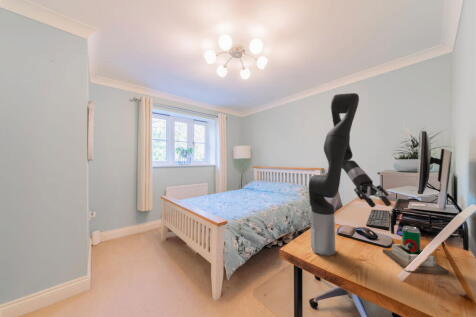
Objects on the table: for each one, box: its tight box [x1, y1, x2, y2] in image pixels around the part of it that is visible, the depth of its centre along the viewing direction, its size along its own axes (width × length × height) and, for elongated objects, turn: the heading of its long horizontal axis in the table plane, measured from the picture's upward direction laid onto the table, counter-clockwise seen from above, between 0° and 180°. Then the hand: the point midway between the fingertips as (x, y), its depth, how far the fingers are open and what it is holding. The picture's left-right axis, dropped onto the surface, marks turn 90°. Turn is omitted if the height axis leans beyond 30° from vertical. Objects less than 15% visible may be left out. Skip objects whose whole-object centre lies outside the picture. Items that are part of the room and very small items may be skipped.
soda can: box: [401, 225, 422, 255], centre depth 69 cm, size 5×5×12 cm
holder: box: [382, 243, 450, 275], centre depth 68 cm, size 13×13×5 cm
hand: (381, 205), depth 80 cm, fingers open, 8 cm apart
